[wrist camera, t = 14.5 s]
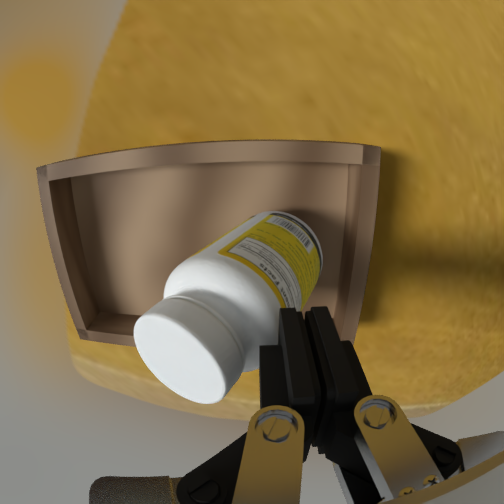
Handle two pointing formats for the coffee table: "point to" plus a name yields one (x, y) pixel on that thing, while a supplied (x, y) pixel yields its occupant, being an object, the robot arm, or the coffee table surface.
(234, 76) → the coffee table surface
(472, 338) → the coffee table surface
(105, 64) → the coffee table surface
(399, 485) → the robot arm
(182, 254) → the tray
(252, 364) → the supplement bottle
